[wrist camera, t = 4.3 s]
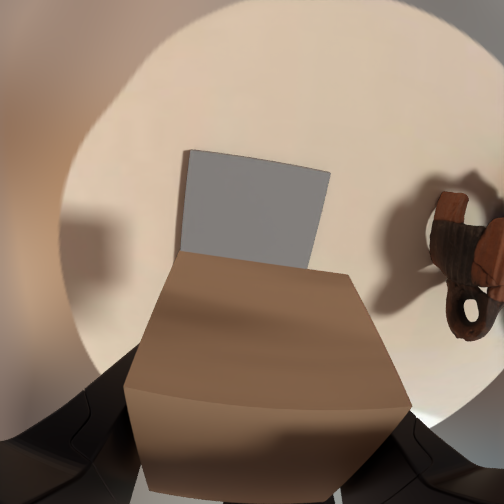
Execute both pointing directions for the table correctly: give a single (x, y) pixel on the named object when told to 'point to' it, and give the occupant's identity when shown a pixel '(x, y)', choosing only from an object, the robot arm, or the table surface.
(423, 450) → the robot arm
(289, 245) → the felt coaster
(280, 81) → the table surface
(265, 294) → the walnut block
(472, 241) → the pottery mug
